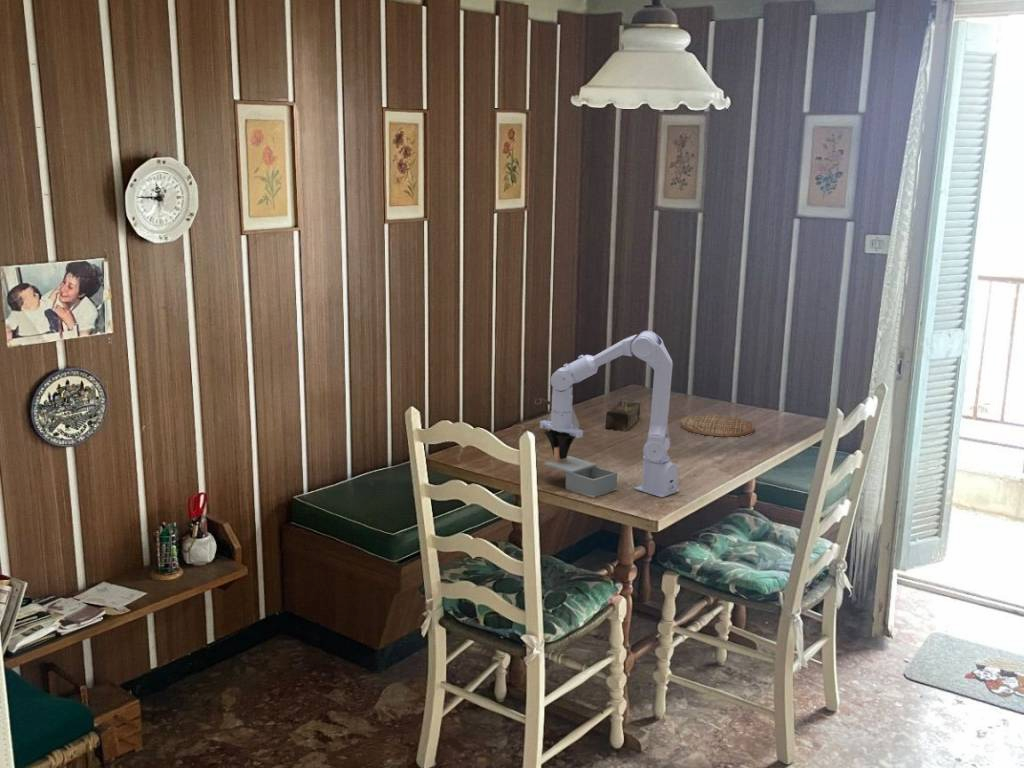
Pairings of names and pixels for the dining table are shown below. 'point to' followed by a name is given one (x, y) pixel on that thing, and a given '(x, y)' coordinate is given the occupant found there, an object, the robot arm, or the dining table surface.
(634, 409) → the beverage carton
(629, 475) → the dining table surface
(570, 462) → the lid
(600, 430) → the dining table surface
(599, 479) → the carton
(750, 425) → the trivet
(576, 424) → the coffee pot
